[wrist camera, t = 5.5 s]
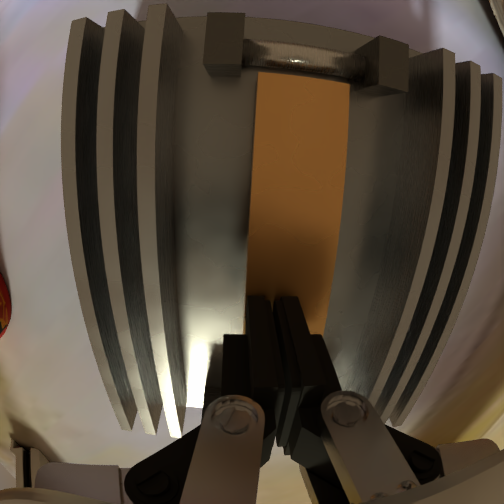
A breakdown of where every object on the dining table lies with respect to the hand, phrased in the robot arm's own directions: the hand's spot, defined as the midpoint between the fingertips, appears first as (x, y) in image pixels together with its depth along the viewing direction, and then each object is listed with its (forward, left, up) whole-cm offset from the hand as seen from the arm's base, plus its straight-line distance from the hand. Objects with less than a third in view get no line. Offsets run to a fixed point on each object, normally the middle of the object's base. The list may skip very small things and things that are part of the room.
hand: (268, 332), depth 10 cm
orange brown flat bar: (-1, -2, -1) cm, 2 cm away
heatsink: (-1, -2, -5) cm, 5 cm away
